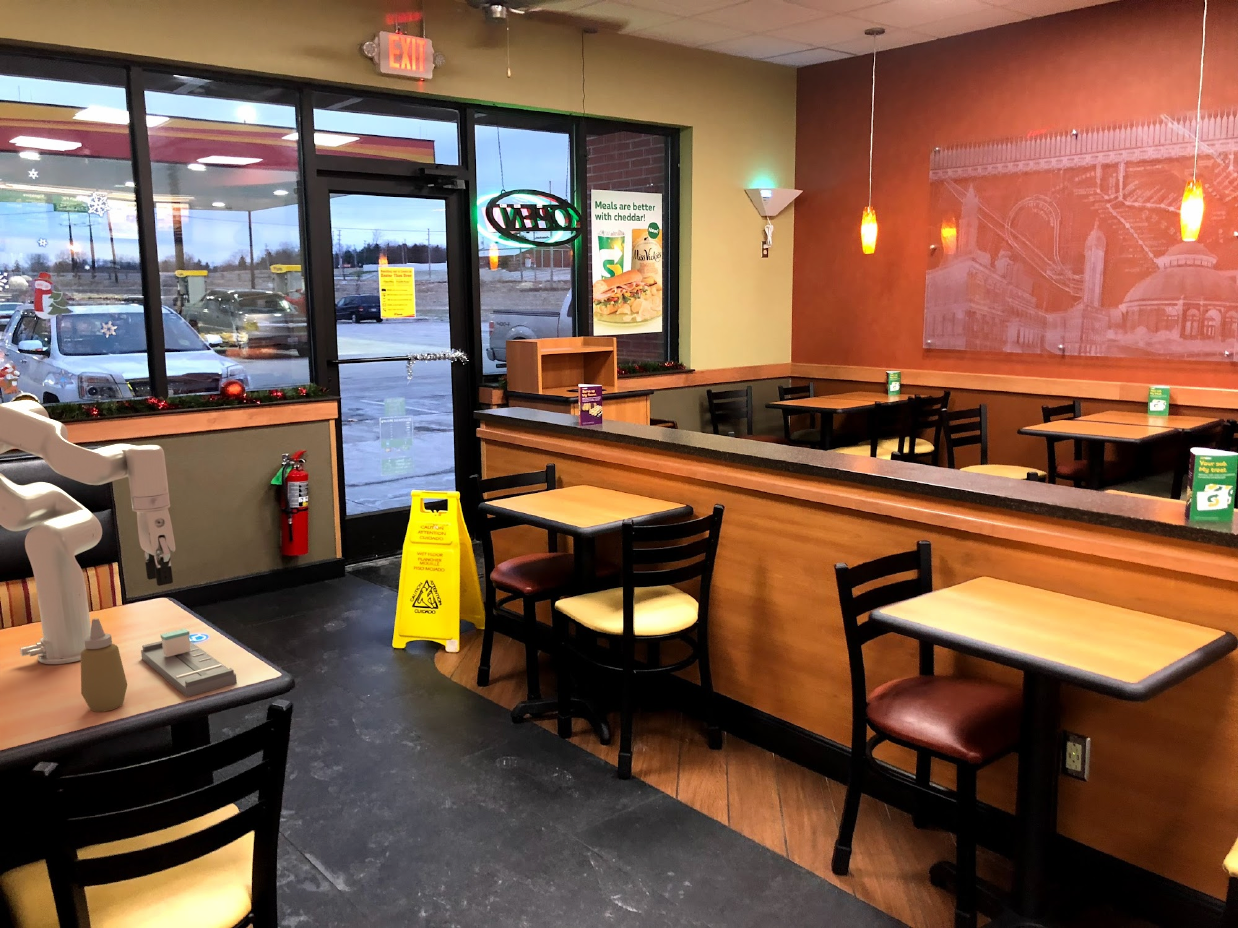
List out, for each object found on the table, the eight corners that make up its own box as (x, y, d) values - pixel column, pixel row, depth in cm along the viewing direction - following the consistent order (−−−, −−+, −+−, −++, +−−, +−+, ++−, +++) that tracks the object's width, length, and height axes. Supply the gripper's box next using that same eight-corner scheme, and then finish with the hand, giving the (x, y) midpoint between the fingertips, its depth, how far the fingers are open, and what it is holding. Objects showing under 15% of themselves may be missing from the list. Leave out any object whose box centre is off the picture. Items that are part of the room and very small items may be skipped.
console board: (186, 697, 196) (185, 683, 196) (141, 658, 218) (140, 645, 218) (236, 682, 203) (235, 669, 202) (188, 647, 225) (186, 634, 224)
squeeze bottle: (83, 718, 187) (71, 629, 184) (84, 703, 195) (72, 617, 191) (130, 709, 191) (118, 621, 188) (129, 694, 198) (118, 610, 195)
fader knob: (166, 657, 212) (164, 637, 211) (162, 653, 214) (160, 634, 213) (191, 650, 215) (189, 631, 214) (187, 647, 217) (185, 628, 216)
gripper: (181, 504, 210) (190, 585, 213) (156, 493, 222) (165, 570, 226) (144, 510, 205) (154, 593, 208) (120, 499, 217) (130, 577, 221)
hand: (160, 580), depth 217 cm, fingers open, 6 cm apart
